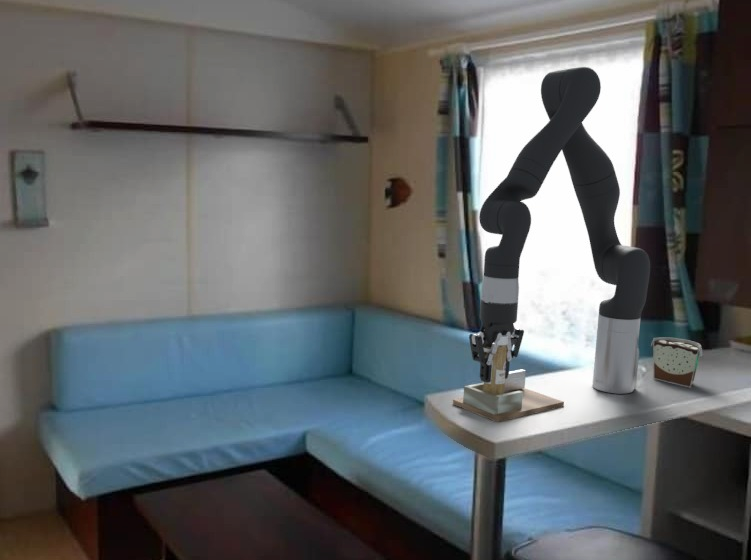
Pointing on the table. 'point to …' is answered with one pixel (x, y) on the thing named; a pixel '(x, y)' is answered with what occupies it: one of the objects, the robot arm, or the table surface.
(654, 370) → the food container
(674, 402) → the table surface
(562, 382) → the table surface
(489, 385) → the tan spice jar
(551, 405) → the cradle board
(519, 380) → the bar
